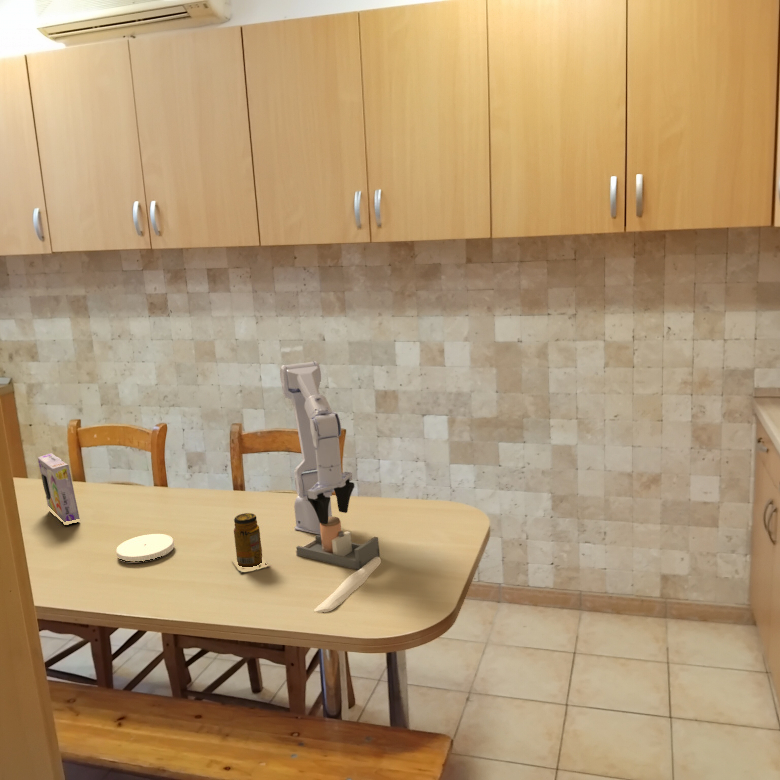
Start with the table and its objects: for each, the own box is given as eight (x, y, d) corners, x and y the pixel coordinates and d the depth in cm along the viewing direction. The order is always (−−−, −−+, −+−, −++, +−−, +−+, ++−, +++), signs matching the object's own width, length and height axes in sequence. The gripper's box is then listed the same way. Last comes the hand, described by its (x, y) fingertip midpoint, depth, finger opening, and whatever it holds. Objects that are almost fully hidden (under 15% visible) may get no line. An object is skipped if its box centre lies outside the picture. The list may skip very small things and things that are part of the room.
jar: (318, 555, 193) (315, 521, 191) (331, 547, 197) (328, 514, 195) (334, 559, 190) (331, 525, 188) (347, 551, 194) (344, 518, 192)
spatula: (373, 557, 191) (374, 548, 190) (389, 562, 189) (390, 553, 188) (311, 615, 167) (311, 605, 166) (328, 621, 165) (329, 611, 164)
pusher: (333, 559, 190) (331, 536, 188) (348, 550, 194) (346, 527, 193) (337, 560, 189) (335, 536, 188) (352, 551, 194) (350, 528, 192)
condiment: (260, 554, 197) (254, 509, 194) (270, 567, 189) (265, 519, 187) (231, 562, 194) (225, 515, 191) (240, 575, 186) (235, 527, 184)
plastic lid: (180, 556, 200) (179, 546, 199) (123, 571, 193) (122, 561, 193) (167, 538, 212) (165, 529, 211) (112, 552, 205) (111, 543, 205)
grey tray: (296, 555, 195) (294, 536, 194) (317, 542, 201) (315, 524, 200) (359, 570, 184) (357, 550, 183) (379, 556, 191) (378, 537, 189)
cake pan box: (45, 511, 239) (36, 454, 235) (63, 506, 242) (53, 450, 238) (63, 528, 224) (53, 468, 220) (81, 523, 226) (71, 464, 223)
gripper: (322, 475, 181) (327, 531, 184) (360, 456, 193) (364, 509, 196) (299, 471, 185) (304, 525, 188) (337, 453, 197) (342, 505, 200)
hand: (333, 517), depth 192 cm, fingers open, 7 cm apart
